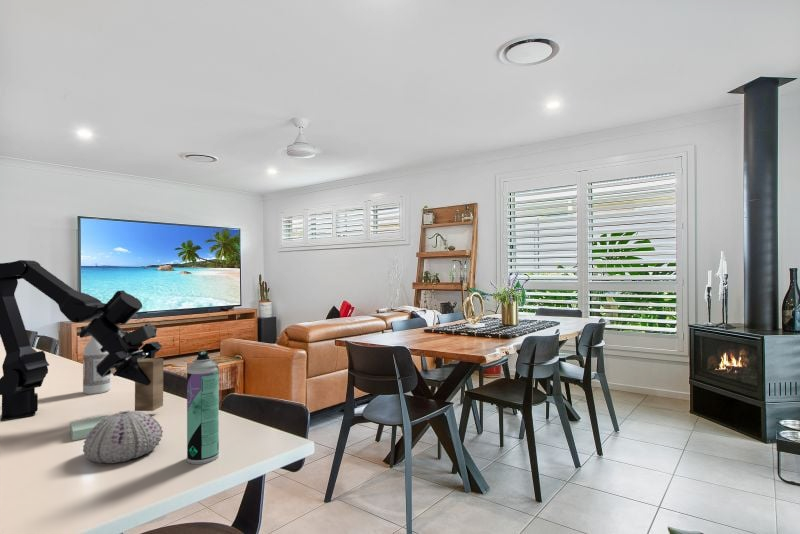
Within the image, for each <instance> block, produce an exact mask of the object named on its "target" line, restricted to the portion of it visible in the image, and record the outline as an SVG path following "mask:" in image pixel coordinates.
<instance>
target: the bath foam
mask: <svg viewBox="0 0 800 534" xmlns="http://www.w3.org/2000/svg"><path fill="white" fill-rule="evenodd" d="M101 348H102V346H101V345H100V344H99V343H98V342H97V341H96V340H95V339H94V338H93V337H92V336H90V339H89V340H88V342H87V343H86V344H85V346H84V349H83V352H82V388H83V389H82V391H83V394H86V395H97V394H103V392H104V393H107V392H109V391H110V390H112V389H111V387H112V386H111V385H112V384H111V383H112V380H111V378H112V377H111V375H112V374H110V375H108V376H105V377H101V376H100V375H99V374H98V373H97V372H96V366H97V365H98V364H99V363H100V362H101V361H102V360H103V359H104V358H105V357H106V356H107V355H108V354H109V353H108V352H103V353H102V352H101V351H100V349H101ZM111 369H112V368H111ZM111 369H110V370H111ZM106 391H107V392H106Z"/></svg>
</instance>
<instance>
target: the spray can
mask: <svg viewBox="0 0 800 534" xmlns="http://www.w3.org/2000/svg"><path fill="white" fill-rule="evenodd" d="M208 353H209V352H208V351H199V352H198V353H197V357H196V358H195V359H194V361H193V362H192V363H190V364H189V365H187V370H186V386H187V387H186V408H187V409H186V429H187V430H186V460H187V463H188V464H190V465H203V464H208V463H211V462H213V461H216V460H217V459H218V458H219V454H220V452H219V451H220V450H219V449H220V448H219V447H220V444H219V443H220V442H219V441H220V438H219V437H220V436H219V433H220V431H219V429H220V427H219V426H220V422H219V419H220V418H219V417H220V416H219V413H220V410H219V407H220V406H219V405H220V404H219V403H220V402H219V400H220V399H219V397H220V395H219V393H220V392H219V388H220V387H219V384H220V383H219V381H220V379H219V370H220V369H219V363H218V362H216V361H214V360H212V358H211V357H210V356H209V354H208Z"/></svg>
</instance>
